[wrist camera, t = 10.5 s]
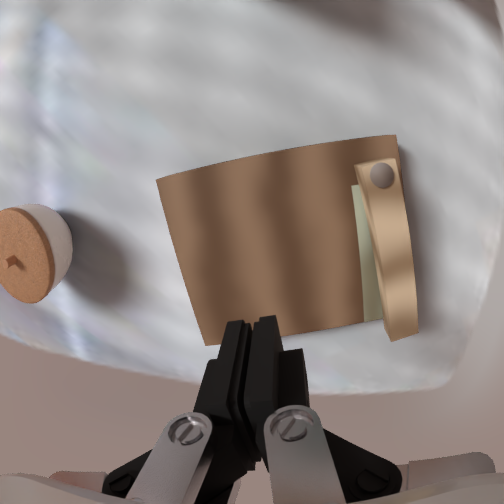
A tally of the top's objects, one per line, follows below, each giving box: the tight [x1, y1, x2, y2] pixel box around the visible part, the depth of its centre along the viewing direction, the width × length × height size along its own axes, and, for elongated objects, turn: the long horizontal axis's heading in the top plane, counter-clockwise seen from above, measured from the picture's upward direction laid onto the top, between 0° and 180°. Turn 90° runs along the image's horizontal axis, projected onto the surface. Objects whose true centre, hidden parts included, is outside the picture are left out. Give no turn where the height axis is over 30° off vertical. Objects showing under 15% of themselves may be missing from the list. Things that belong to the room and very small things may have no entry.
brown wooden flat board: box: [156, 135, 405, 346], centre depth 30 cm, size 22×18×3 cm
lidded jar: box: [0, 204, 73, 303], centre depth 29 cm, size 11×11×9 cm
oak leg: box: [354, 157, 418, 342], centre depth 26 cm, size 17×3×3 cm, turn 18°
